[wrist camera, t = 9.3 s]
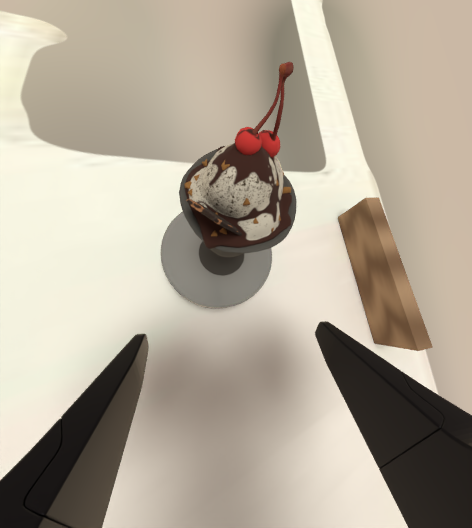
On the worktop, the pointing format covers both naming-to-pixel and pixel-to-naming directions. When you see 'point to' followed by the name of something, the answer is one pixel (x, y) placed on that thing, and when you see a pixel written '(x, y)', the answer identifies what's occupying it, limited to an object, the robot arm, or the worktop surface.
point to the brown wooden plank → (382, 278)
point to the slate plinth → (200, 279)
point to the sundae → (240, 195)
